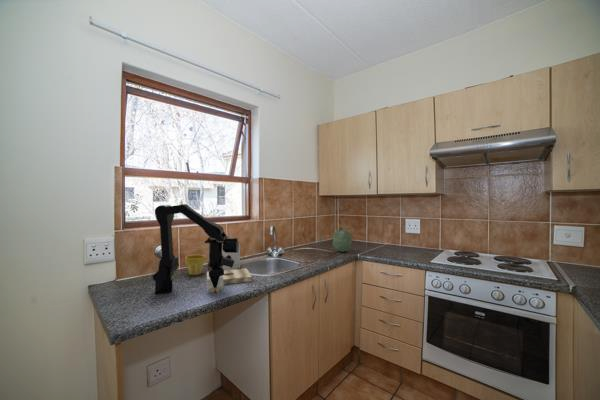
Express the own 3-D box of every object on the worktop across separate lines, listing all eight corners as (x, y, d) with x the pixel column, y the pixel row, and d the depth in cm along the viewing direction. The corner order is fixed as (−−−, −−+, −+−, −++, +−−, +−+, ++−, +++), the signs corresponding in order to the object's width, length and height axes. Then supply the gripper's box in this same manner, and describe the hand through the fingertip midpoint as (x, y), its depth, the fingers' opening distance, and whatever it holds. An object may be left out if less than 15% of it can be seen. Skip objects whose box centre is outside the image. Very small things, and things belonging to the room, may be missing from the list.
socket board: (207, 286, 119) (207, 281, 119) (206, 276, 134) (206, 271, 134) (252, 281, 127) (252, 276, 127) (246, 272, 142) (246, 268, 142)
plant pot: (192, 270, 145) (193, 253, 145) (208, 271, 143) (208, 255, 143) (180, 275, 135) (181, 257, 135) (197, 276, 132) (197, 259, 132)
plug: (207, 294, 109) (207, 279, 109) (206, 290, 113) (207, 276, 113) (223, 292, 112) (223, 278, 112) (222, 288, 116) (222, 275, 116)
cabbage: (340, 249, 217) (341, 227, 217) (356, 253, 201) (357, 229, 201) (327, 251, 208) (327, 227, 208) (342, 255, 192) (343, 230, 193)
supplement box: (240, 268, 151) (241, 244, 151) (228, 271, 144) (229, 246, 144) (231, 265, 156) (231, 242, 156) (219, 268, 149) (219, 244, 149)
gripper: (236, 255, 107) (235, 290, 107) (231, 247, 124) (230, 277, 124) (209, 257, 103) (208, 294, 103) (207, 248, 120) (207, 280, 120)
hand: (214, 285), depth 113 cm, fingers closed on plug, 5 cm apart
